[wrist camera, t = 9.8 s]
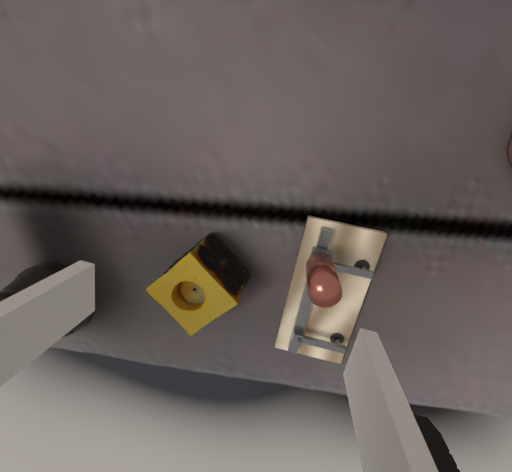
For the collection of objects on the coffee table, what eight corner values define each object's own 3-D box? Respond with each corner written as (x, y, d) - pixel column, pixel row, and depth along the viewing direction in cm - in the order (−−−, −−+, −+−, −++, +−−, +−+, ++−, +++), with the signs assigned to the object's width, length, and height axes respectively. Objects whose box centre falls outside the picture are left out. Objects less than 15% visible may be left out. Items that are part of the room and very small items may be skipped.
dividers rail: (287, 346, 50) (287, 357, 47) (321, 226, 42) (322, 231, 40) (336, 358, 49) (338, 370, 46) (378, 238, 42) (384, 244, 39)
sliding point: (302, 267, 44) (304, 304, 34) (308, 242, 43) (313, 272, 32) (364, 281, 44) (386, 324, 33) (373, 256, 42) (399, 292, 31)
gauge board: (275, 343, 51) (274, 347, 50) (308, 215, 43) (308, 217, 42) (339, 359, 50) (340, 364, 49) (385, 231, 42) (387, 234, 41)
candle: (251, 273, 48) (241, 304, 38) (211, 303, 51) (191, 339, 41) (212, 229, 46) (191, 250, 37) (173, 263, 49) (143, 290, 40)
